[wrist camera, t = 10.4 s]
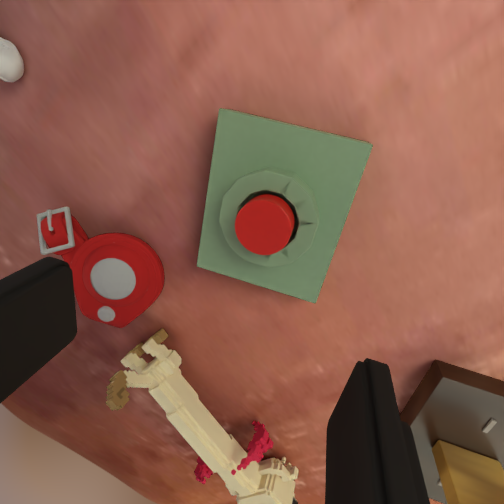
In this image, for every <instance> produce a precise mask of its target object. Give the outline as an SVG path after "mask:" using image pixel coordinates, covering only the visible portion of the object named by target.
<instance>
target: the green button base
mask: <svg viewBox="0 0 504 504" xmlns="http://www.w3.org/2000/svg"><path fill="white" fill-rule="evenodd" d="M372 147H373V145H372V144H371V143H369V142H366V141H362V140H358V139H353V138H349V137H345V136H341V135H337V134H332V133H328V132H324V131H320V130H316V129H311V128H307V127H303V126H299V125H294V124H290V123H286V122H282V121H278V120H273V119H269V118H265V117H261V116H256V115H252V114H248V113H244V112H240V111H235V110H231V109H222V108H220V109H219V114H218V121H217V128H216V135H215V142H214V149H213V156H212V163H211V169H210V176H209V183H208V190H207V197H206V204H205V211H204V218H203V225H202V232H201V239H200V246H199V252H198V259H197V267H200V268H204V269H207V270H210V271H213V272H216V273H220V274H223V275H226V276H229V277H232V278H236V279H239V280H242V281H245V282H248V283H251V284H255V285H258V286H261V287H264V288H267V289H271V290H274V291H277V292H280V293H283V294H287V295H290V296H293V297H296V298H299V299H302V300H306V301H309V302H312V303H316V301H317V298H318V295H319V293H320V290H321V287H322V284H323V282H324V279H325V276H326V273H327V271H328V268H329V265H330V262H331V260H332V257H333V254H334V251H335V249H336V246H337V243H338V240H339V237H340V235H341V232H342V229H343V226H344V224H345V221H346V218H347V215H348V213H349V210H350V207H351V204H352V202H353V199H354V196H355V193H356V191H357V188H358V185H359V182H360V180H361V177H362V174H363V171H364V169H365V166H366V163H367V160H368V158H369V155H370V152H371V149H372ZM263 194H271V195H275V196H278V197H280V198H281V199H283V200H284V201H285V202H286V203H287V204H288V205H289V206H290V208H291V210H292V212H293V215H294V228H293V231H292V234H291V236H290V239H289V241H288V243H287V244H286V246H285V247H284V248H283V249H282V250H280V251H279V252H277V253H274V254H271V255H259V254H255V253H253V252H251V251H249V250H247V249H246V248H245V247H244V246H243V245H242V244H241V243H240V241H239V240H238V238H237V235H236V232H235V220H236V216H237V214H238V212H239V211H240V210H241V208H242V207H243V206H244V205H245V204H247V203H248V202H249V201H250V200H251V199H252V198H254V197H256V196H258V195H263Z"/></svg>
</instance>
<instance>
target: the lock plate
mask: <svg viewBox="0 0 504 504" xmlns="http://www.w3.org/2000/svg"><path fill="white" fill-rule="evenodd" d="M400 420H401V421H404V422H407V423H408V424H409V426H410V427H411V430H412V433H413V437H414V441H415V445H416V449H417V453H418V457H419V461H420V465H421V469H422V473H423V477H424V481H425V485H426V489H427V493H428V497H429V498H431V499H433V500H436V501H438V502H441V503H444V504H447V500H446V497H445V494H444V490H443V487H442V483H441V480H440V477H439V473H438V470H437V466H436V463H435V460H434V456H433V453H432V448H433V446H434V445H435V444H436V442H437V441H438V440H441V441H444V442H447V443H450V444H452V445H455V446H458V447H461V448H463V449H466V450H469V451H472V452H474V453H477V454H480V455H483V456H486V457H488V458H491V459H494V460H497V461H499V462H500V463H501V465H502V468H503V470H504V381H501V380H498V379H494V378H491V377H488V376H485V375H482V374H479V373H476V372H473V371H470V370H466V369H463V368H460V367H457V366H454V365H451V364H448V363H445V362H442V361H438V360H435V361H434V362H433V364H432V366H431V367H430V369H429V370H428V372H427V373H426V375H425V377H424V378H423V380H422V381H421V383H420V384H419V386H418V388H417V389H416V391H415V392H414V394H413V395H412V397H411V399H410V400H409V402H408V403H407V405H406V406H405V408H404V410H403V411H402V413H401V414H400Z"/></svg>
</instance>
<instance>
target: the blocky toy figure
mask: <svg viewBox="0 0 504 504" xmlns="http://www.w3.org/2000/svg"><path fill="white" fill-rule="evenodd" d="M167 337H168V334H167V333H166V332H165V331H164V329H163V328H162V329H160V330H159V331H158V332H156V333H155V334H154V335H153V336H152V337H150V338H149V339H148V340H147V341H146V342H145V344H143V343H142V342H141V343H140V344H138V345H137V346H136V347H135V348H134V349H132V350H131V351H130V352H129V353H128V354H127V355H125V357H124V358H123V359H122V360H121V363H122V364H123V365H124V366H125V367H126V368H127V367H129V368H130V369H131V370H133V369H135V371H136V372H137V373H138V375H137V374H136V372H135V371H132V372H131V371H130V370H129V371H128V372H127V371H126V370H125V371H122V370H120V371H118V372H117V373H115V374H114V375H113V376H112V377H111V378H110V379H109V381H110V382H111V383H110V384H109V385H108V386H107V387H106V388H107V389H108V391H107V392H106V393H107V394H108V396H107V397H106V399H107V400H108V401H107V402H106V404H107V405H108V406H109V408H110V409H111V410H112V411H113V410H115V409H116V410H119V409H121V408H123V407H124V405H125V404H126V403H127V402H128V401H129V400H130V399H129V398H128V396H129V395H130V394H129V393H128V392H127V391H126V388H127V387H128V388H129V387H132V388H133V387H136V388H138V387H140V388H142V387H144V388H148V387H149V390H148V391H149V393H150V394H151V395H152V396H153V398H154V399H155V400H156V401H157V402H158V404H159V405H160V406H161V407H162V408H163V409H164V411H165V412H166V416H167V419H168V420H169V421H170V422H171V423H172V424H173V426H174V427H175V428H176V429H177V430H178V431H179V433H180V434H181V435H182V436H183V437H184V439H185V440H186V441H187V442H188V443H189V444H190V446H191V447H192V448H193V449H194V450H195V451H196V453H197V454H198V455H199V457H198V459H197V461H198V462H197V463H198V465H197V467H196V469H195V471H194V473H195V475H196V476H197V477H196V479H197V481H199V482H201V483H202V484H205V482H206V480H205V479H204V478H203V477H207V478H210V476H211V475H213V473H215V472H217V473H218V474H219V475H220V477H221V478H222V479H223V480H224V481H225V482H226V485H225V486H226V487H227V488H228V490H229V492H230V494H231V495H232V496H233V495H237V499H236V501H237V503H238V504H298V502H297V500H296V499H295V498H294V496H295V494H294V489H295V482H294V479H297V477H298V471H299V470H298V469H297V467H296V466H292V465H291V464H290V463H287V466H284V465H283V464H285V462H286V458H285V457H282V460H279V459H275V457H274V458H270V459H267V460H263V461H260V460H261V459H263V457H264V455H263V454H262V453H265V452H267V450H268V449H271V448H272V447H273V441H272V440H271V439H270V438H269V437H268V435H269V433H268V432H267V431H266V429H265V428H264V427H265V425H264V424H260V423H259V422H256V421H253V423H252V424H253V425H254V426H255V427H254V430H255V431H257V432H256V433H254V436H253V439H252V441H250V442H249V445H248V448H247V450H248V451H249V452H247V453H246V452H245V451H244V449H243V448H242V447H241V446H240V445H239V443H238V442H237V441H236V440H235V439H234V437H233V436H232V435H231V434H229V435H228V434H227V433H226V431H225V430H224V429H223V428H222V427H221V425H220V424H219V423H218V422H217V421H216V419H215V418H214V417H213V416H212V415H211V413H210V412H209V411H208V410H207V409H206V407H205V406H204V405H203V404H202V403H201V401H200V400H199V399H198V397H199V396H198V395H197V393H196V392H195V390H194V389H193V388H192V387H191V386H190V384H189V383H188V382H187V381H186V380H185V378H184V377H183V376H182V375H181V373H182V372H181V370H180V369H179V368H178V367H179V366H180V364H181V363H182V362H181V360H182V359H181V357H180V356H179V355H178V353H177V352H176V351H175V350H171V349H170V350H168V349H167V348H166V346H165V345H164V344H163V345H161V344H160V343H161V342H163V341H164V340H165V339H166V338H167ZM144 352H146V354H149V353H150V354H151V355H152V357H154V356H156V358H154V359H153V360H152V361H151V362H149V363H146V361H145V360H144V359H143V358H141V359H140V358H139V357H140V356H141V355H142V354H143V353H144ZM256 461H257V462H256Z"/></svg>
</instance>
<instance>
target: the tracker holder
mask: <svg viewBox="0 0 504 504" xmlns="http://www.w3.org/2000/svg"><path fill="white" fill-rule="evenodd" d="M37 224H38V233H39V242H40V251H41V254H43V255H46V254H49V253H54V254H57V255H61V256H62V257H63V259H64V261H65V262H67V263H68V264H69V266H70V268H71V269H72V272H73V285H74V292H75V295H76V298H77V302H78V305H79V307H80V310H81V312H82V314H83V315H85V316H86V317H88V318H89V319H92V320H95V321H98V322H102V323H105V324H108V325H111V326H115V327H118V328H123V327H125V326H126V325H128V324H129V323H130V322H131V321H133V320H134V319H135V318H136V317H138V316H139V315H140V314H141V313H143V312H144V311H145V310H146V309H147V308H148V307H149V306H150V305H151V304H152V303H153V302H154V301H155V300H156V299H157V297H158V296H159V295H160V293H161V291H162V289H163V285H164V269H163V266H162V263H161V260H160V259H159V257H158V255H157V254H156V252H155V251H154V250H153V249H152V248H151V247H150V246H149V245H148V244H147V243H145V242H144V241H142V240H141V239H139V238H137V237H135V236H132V235H128V234H124V233H105V234H101V235H97V236H95V237H93V238H91V239H88V237H87V235H86V233H85V232H84V230H83V229H82V227H81V226H80V224H79V223H78V221H77V220H76V219H75V218H74V217H73V216H72V215H71V213H70V208H69V207H63V208H59V209H55V210H52V211H51V210H50V209H48V210H47V212H44V213H40V214H37ZM46 243H47V245H48V247H49V248H50V249H47V248H46Z"/></svg>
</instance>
